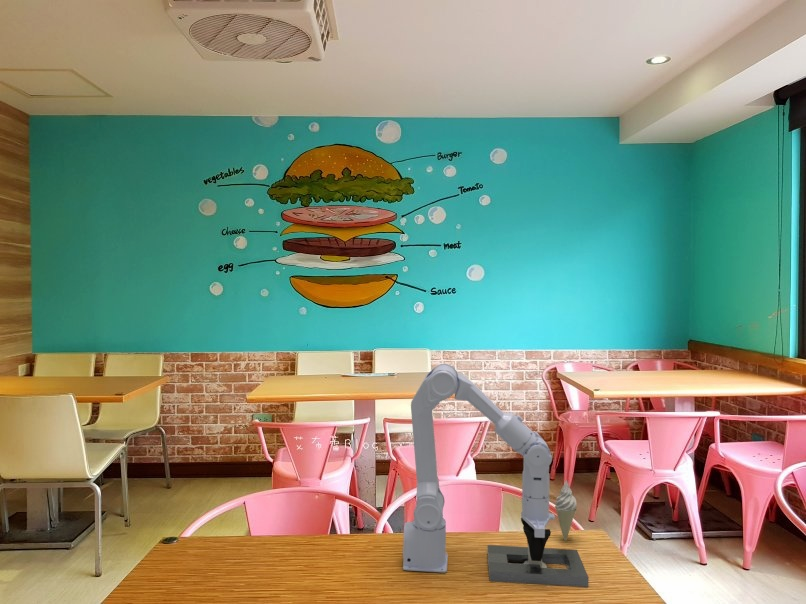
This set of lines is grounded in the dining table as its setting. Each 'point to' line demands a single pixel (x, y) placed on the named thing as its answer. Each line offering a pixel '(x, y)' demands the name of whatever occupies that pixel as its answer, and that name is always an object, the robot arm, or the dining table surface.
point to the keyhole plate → (536, 566)
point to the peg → (529, 561)
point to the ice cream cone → (565, 509)
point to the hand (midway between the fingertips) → (535, 556)
